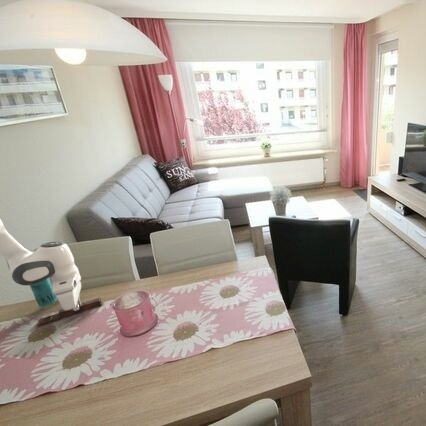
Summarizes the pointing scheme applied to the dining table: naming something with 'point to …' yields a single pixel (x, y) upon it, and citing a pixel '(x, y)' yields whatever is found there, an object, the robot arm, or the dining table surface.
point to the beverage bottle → (43, 293)
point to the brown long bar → (70, 311)
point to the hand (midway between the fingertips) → (77, 307)
